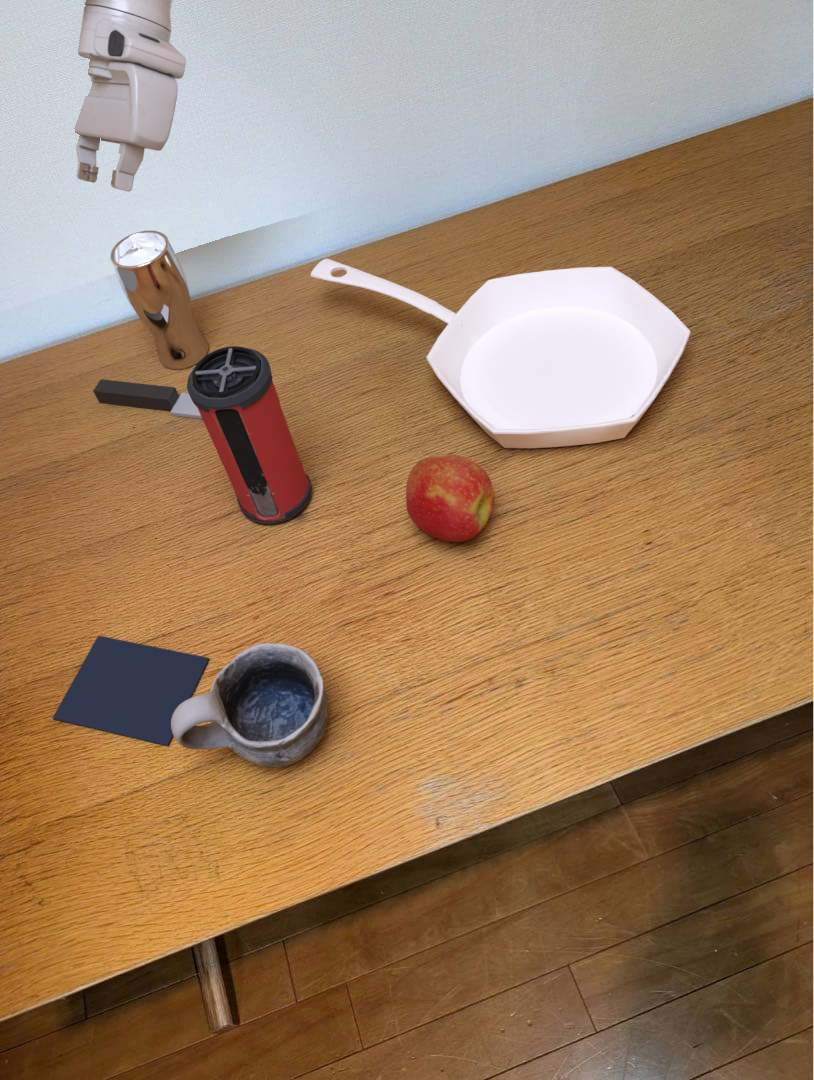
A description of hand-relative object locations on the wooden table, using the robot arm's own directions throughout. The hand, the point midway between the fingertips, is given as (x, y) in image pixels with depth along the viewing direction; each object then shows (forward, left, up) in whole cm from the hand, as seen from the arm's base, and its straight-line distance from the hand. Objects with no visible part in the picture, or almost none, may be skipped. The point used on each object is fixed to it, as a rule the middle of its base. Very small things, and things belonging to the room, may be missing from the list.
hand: (103, 185), depth 108 cm
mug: (+35, -50, -20) cm, 64 cm away
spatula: (+6, -13, -20) cm, 24 cm away
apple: (+44, -24, -20) cm, 54 cm away
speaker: (+25, -24, -20) cm, 40 cm away
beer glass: (+5, -4, -20) cm, 21 cm away
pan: (+41, 0, -20) cm, 46 cm away
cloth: (+20, -48, -20) cm, 56 cm away
